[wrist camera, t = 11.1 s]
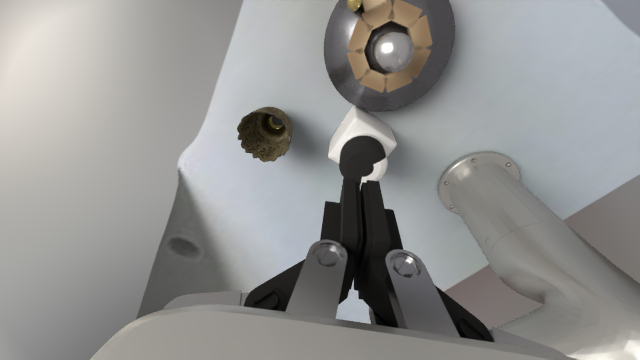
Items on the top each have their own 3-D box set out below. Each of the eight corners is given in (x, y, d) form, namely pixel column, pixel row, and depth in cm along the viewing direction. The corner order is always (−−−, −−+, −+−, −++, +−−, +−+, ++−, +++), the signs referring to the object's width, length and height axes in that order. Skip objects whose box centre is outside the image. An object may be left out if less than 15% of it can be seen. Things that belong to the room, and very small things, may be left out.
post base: (456, 78, 35) (490, 94, 26) (350, 121, 39) (351, 147, 31) (430, -60, 28) (467, -99, 19) (306, 13, 32) (291, 8, 24)
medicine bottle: (329, 139, 41) (323, 174, 31) (354, 102, 38) (356, 129, 28) (364, 160, 43) (369, 200, 33) (391, 127, 39) (405, 161, 29)
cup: (271, 147, 43) (256, 169, 37) (246, 110, 40) (226, 126, 33) (307, 130, 41) (299, 150, 34) (284, 89, 38) (270, 102, 31)
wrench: (434, 69, 31) (452, 77, 26) (364, 99, 34) (367, 113, 29) (398, -93, 24) (413, -130, 19) (313, -38, 27) (304, -55, 22)
